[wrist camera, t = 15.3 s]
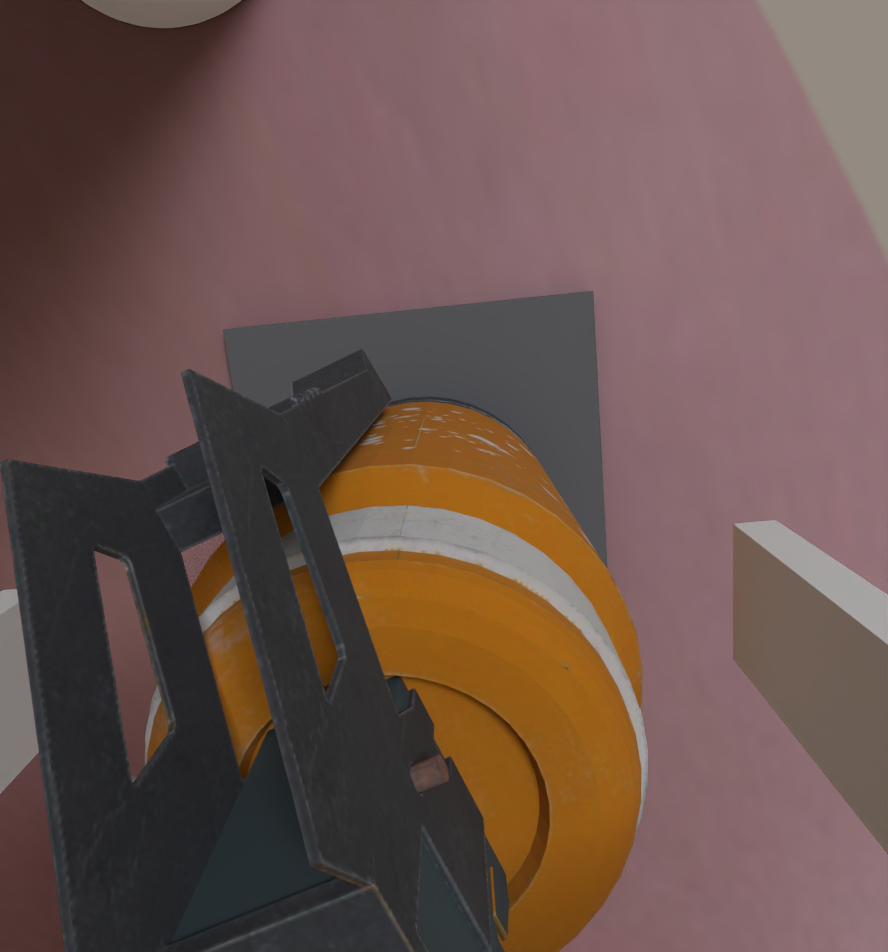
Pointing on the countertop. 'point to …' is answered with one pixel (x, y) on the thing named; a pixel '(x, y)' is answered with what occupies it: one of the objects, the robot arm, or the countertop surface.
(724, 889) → the countertop surface
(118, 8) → the cylinder container
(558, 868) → the canister
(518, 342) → the drip mat
